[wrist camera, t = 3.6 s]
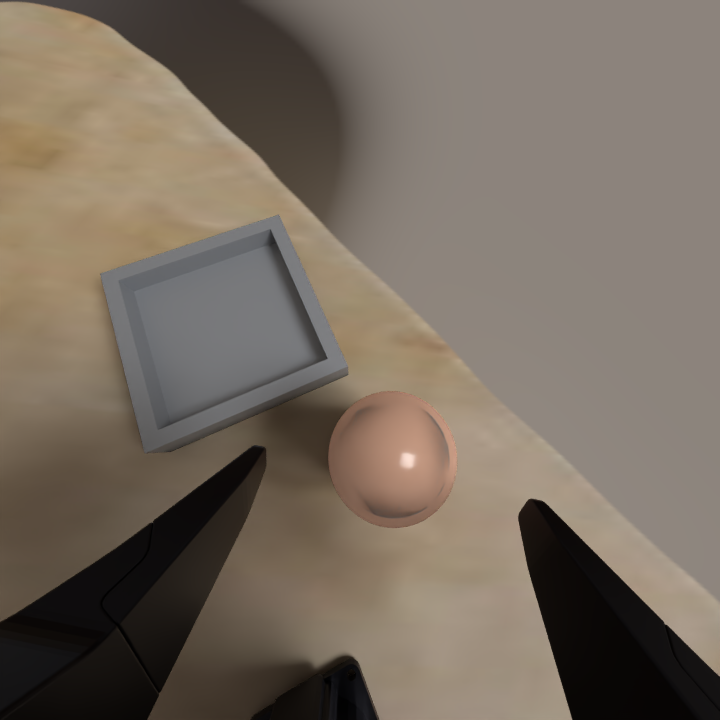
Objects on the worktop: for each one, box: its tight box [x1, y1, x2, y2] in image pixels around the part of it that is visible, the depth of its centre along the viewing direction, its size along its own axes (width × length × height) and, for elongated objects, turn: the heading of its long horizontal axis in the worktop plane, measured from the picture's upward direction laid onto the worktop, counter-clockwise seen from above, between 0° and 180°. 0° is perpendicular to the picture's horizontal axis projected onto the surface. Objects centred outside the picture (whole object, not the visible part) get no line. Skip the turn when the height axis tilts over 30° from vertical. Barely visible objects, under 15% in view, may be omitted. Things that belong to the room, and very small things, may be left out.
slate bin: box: [100, 215, 348, 453], centre depth 20 cm, size 13×13×2 cm
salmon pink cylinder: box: [328, 391, 457, 528], centre depth 15 cm, size 5×5×9 cm
